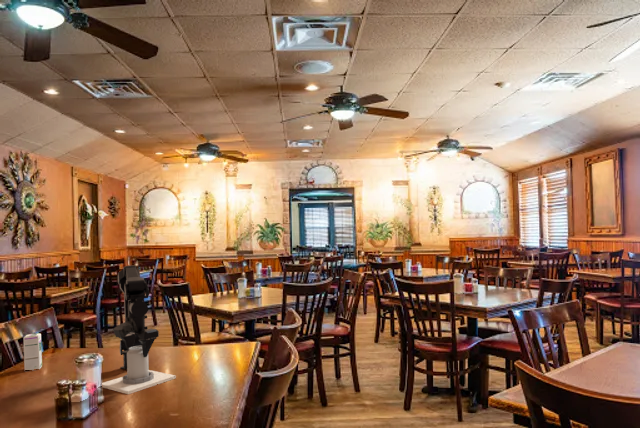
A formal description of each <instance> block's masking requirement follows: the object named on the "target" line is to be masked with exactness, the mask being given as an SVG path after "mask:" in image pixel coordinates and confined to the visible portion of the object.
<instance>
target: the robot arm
mask: <svg viewBox="0 0 640 428" xmlns="http://www.w3.org/2000/svg"><path fill="white" fill-rule="evenodd" d="M140 272H141V271H140V270H139V269H138V267H137V265H125V266H123V268H122V269H121V270H120V271H118V273H117V283H118V285H119V289H120V290H121V292H122V293H123V301H124V322H122V323H120V324H119V325H117V326H115V327H113V329H112V330H113V332H114V335H115V338H118V339H120V340H119V354H120V356H123V358H122V359H123V365H122V366H120V367H119V368H120V369H122V370H126V371H127V352H128V351H129V348H130V347H134V346H142V350H143V357H147V355H148V356H149V352H150V350H151V348H152V346H153V344H154V342H155V340H156V339H157V338H158V337H160V334H159V330H158V329H155V328H148V326H146V319H148V315H147V313H148V311H149V306H148V304H147V303H146V302H145V299H149V296H150V289H149V285H148V283H147V282H146V281H145V279H144V278H143V277H141V275H140V274H141V273H140Z"/></svg>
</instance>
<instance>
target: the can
mask: <svg viewBox="0 0 640 428" xmlns="http://www.w3.org/2000/svg"><path fill="white" fill-rule="evenodd" d="M149 363H150V362H149V354H148V355H147V357H143V350H142V346H134V347H130V348H129V351H128V352H127V370H126V371H127V372H126V373H127V374H126V375H127V379H140V378H145V377H148V376H149V370H150V369H149V366H150V365H149Z"/></svg>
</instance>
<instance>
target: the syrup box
mask: <svg viewBox="0 0 640 428" xmlns="http://www.w3.org/2000/svg"><path fill="white" fill-rule="evenodd" d="M42 351H43V349H42V334H41V333H38V332H37V333H30V334H26V335H25V336H23V361H24V363H23V365H24V371H25V370H32V371H35V370H34V369H39V370H41V368H42V367H43V357H42V356H43V352H42Z"/></svg>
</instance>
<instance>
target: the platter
mask: <svg viewBox="0 0 640 428" xmlns="http://www.w3.org/2000/svg"><path fill="white" fill-rule="evenodd" d="M174 379H177V375H175V374H170V373H166V372H160V371H156V370H150V369H149V376H148V377H145V378H140V379H127V374H125V375H123V376H121V377H117V378H114V379H111V380H107V381H104V382H101V383H102V385H103V387H102V388H103V389H107V390H110V391H111V390H112V391H115V392H119V393H122V394H126V395H130V394H133V393H136V392H139V391H142V390H145V389H148V388H151V387H155V386H157V384H158V385H161V384H164V383H165V382H169V381H173V380H174Z"/></svg>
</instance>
